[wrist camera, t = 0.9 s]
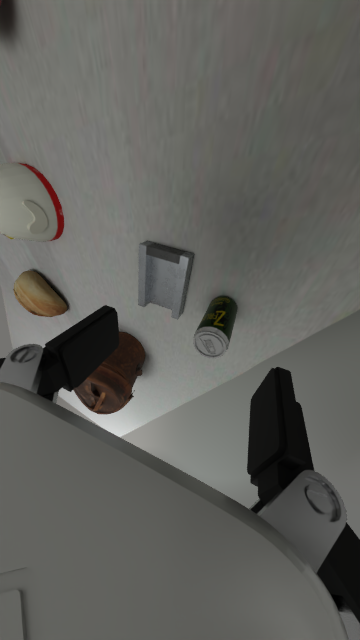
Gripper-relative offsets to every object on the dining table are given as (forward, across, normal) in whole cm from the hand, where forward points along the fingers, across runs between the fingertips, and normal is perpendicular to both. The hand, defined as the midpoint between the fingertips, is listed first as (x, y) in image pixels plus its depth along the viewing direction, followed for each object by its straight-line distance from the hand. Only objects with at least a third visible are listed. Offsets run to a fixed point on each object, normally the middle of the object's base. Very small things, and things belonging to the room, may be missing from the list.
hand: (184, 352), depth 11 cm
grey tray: (+25, +12, +8) cm, 29 cm away
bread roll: (+26, +49, +22) cm, 60 cm away
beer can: (+25, -1, +10) cm, 27 cm away
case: (+26, +22, +34) cm, 48 cm away
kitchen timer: (+25, +44, 0) cm, 50 cm away
